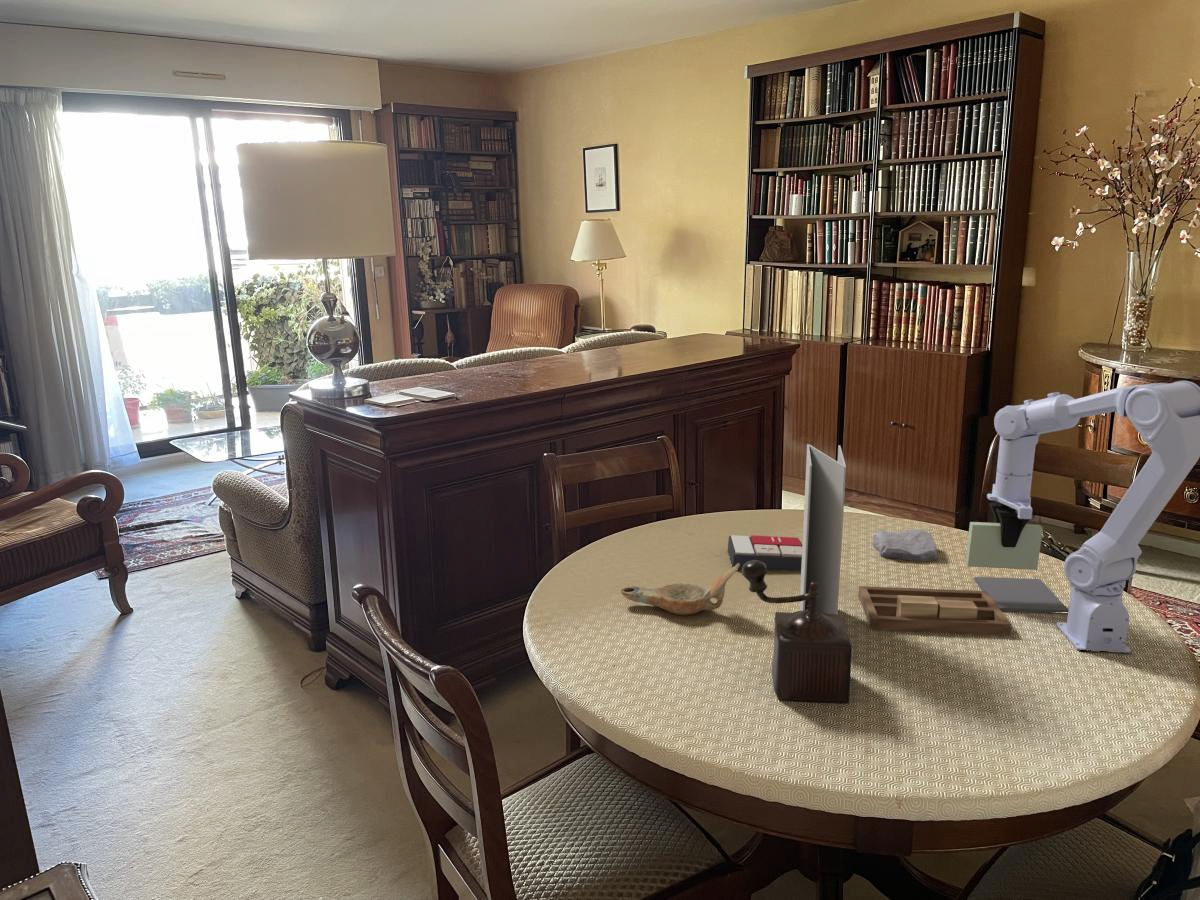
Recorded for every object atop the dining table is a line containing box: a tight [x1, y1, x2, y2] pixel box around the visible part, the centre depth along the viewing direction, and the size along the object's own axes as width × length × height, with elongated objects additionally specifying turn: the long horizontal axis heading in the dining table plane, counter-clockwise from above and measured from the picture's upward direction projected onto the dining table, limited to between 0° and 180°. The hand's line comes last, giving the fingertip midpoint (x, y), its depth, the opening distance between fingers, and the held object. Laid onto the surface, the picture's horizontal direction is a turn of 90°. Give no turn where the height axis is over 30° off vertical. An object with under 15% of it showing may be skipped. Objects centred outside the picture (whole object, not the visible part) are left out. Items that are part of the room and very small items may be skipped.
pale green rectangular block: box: [964, 521, 1044, 571], centre depth 154 cm, size 2×12×8 cm, turn 84°
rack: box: [858, 585, 1012, 636], centre depth 150 cm, size 14×22×2 cm, turn 82°
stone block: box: [872, 528, 938, 562], centre depth 179 cm, size 12×5×10 cm
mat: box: [973, 576, 1069, 613], centre depth 157 cm, size 14×12×1 cm
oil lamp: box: [620, 563, 740, 616], centre depth 153 cm, size 9×21×10 cm, turn 74°
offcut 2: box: [936, 600, 978, 620], centre depth 146 cm, size 3×6×4 cm, turn 82°
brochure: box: [799, 443, 847, 615], centre depth 144 cm, size 14×6×30 cm, turn 168°
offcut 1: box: [896, 595, 938, 618], centre depth 147 cm, size 3×6×4 cm, turn 83°
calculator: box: [727, 534, 803, 572], centre depth 176 cm, size 11×4×15 cm
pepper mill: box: [740, 560, 853, 704], centre depth 126 cm, size 16×11×18 cm
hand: (1006, 544), depth 154 cm, fingers closed on pale green rectangular block, 2 cm apart
